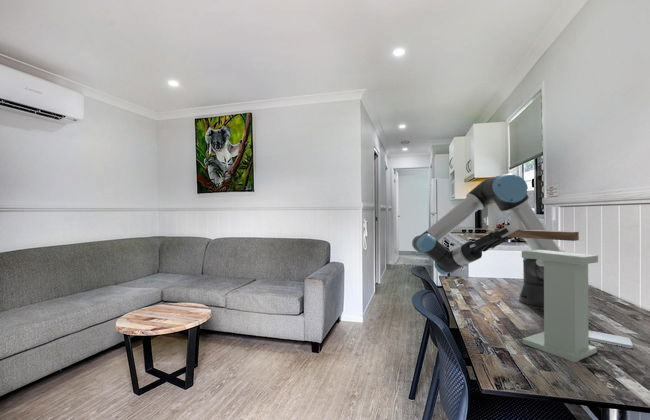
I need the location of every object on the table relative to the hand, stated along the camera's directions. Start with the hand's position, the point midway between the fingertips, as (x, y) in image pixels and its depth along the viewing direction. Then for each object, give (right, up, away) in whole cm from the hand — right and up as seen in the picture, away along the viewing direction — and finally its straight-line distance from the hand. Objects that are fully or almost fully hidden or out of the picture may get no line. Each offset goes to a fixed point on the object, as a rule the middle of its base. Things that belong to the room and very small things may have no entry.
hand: (520, 225), depth 104 cm
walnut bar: (+2, -4, -3) cm, 6 cm away
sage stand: (+5, -37, -10) cm, 39 cm away
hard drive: (+25, -38, -4) cm, 46 cm away
